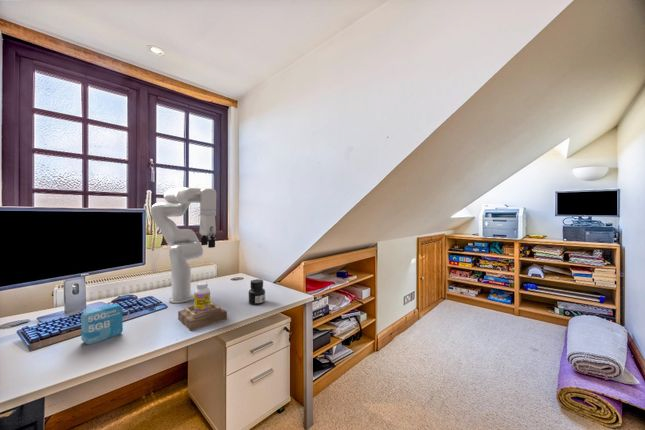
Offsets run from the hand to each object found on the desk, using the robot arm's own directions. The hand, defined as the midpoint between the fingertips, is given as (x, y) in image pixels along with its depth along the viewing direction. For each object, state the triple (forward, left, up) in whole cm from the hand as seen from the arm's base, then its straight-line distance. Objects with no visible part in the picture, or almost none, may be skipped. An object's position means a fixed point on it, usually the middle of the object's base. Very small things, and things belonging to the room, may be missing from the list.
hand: (207, 246), depth 136 cm
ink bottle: (+9, +23, -33) cm, 41 cm away
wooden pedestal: (+11, -7, -32) cm, 35 cm away
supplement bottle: (+11, -7, -29) cm, 32 cm away
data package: (+1, -42, -33) cm, 53 cm away
